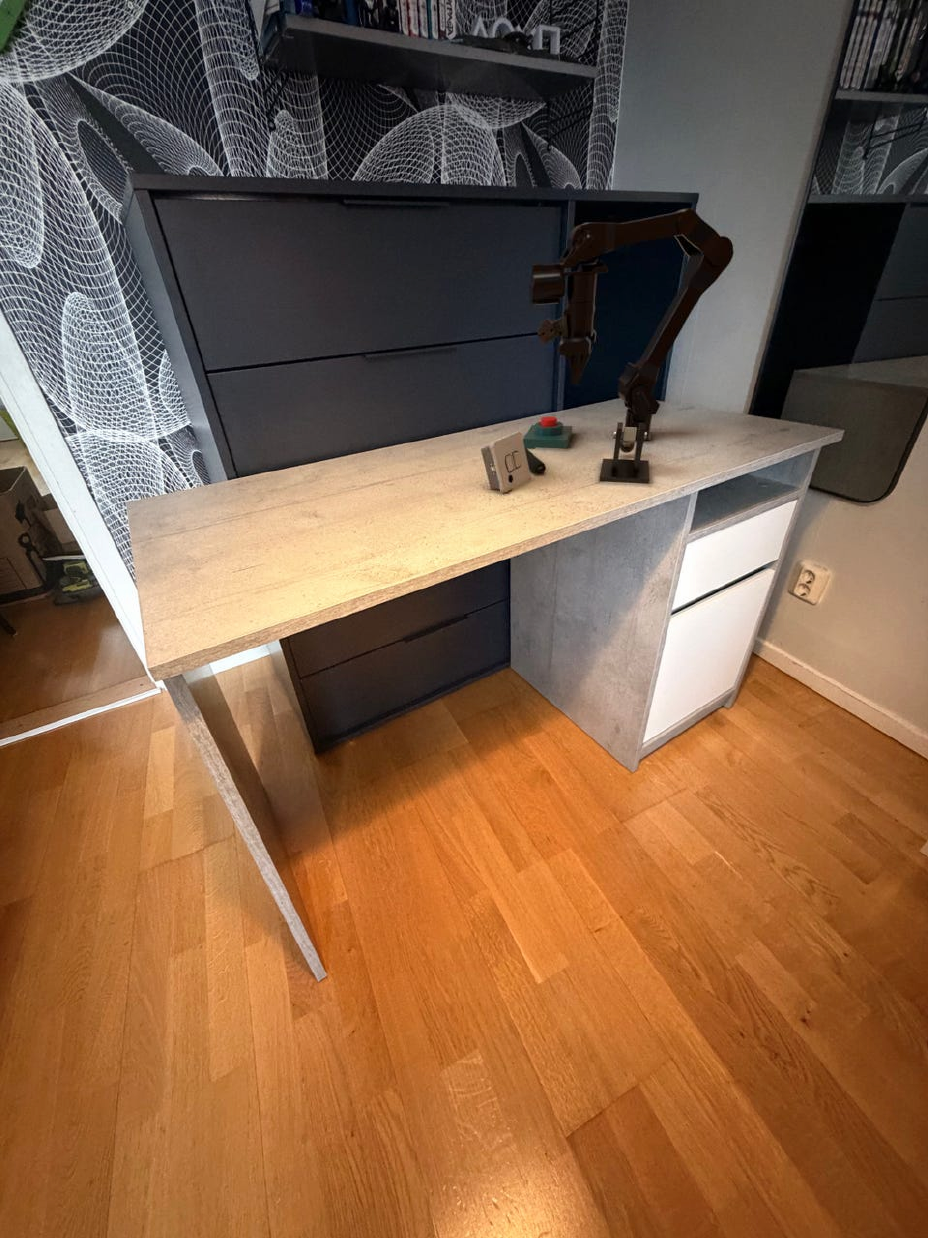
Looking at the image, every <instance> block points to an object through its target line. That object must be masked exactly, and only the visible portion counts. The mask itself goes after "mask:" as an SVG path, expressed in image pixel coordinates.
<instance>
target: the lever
mask: <svg viewBox="0 0 928 1238" xmlns="http://www.w3.org/2000/svg"><path fill="white" fill-rule="evenodd" d="M624 428H625V429H623V431H624V436H623V440H621V444H620V451H621V452H622V453H624V454H629V453H631V452H632V451H633V450H634V449H635V447H636V441H635V440H636V433H637V428H636V427H625V426H624Z"/></svg>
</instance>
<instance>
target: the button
mask: <svg viewBox="0 0 928 1238" xmlns="http://www.w3.org/2000/svg"><path fill="white" fill-rule="evenodd" d="M557 421H558V418H557V417H556V416H543V417H541V419H540V422H541V426H544V427H552V426H557Z"/></svg>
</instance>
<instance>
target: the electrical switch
mask: <svg viewBox="0 0 928 1238" xmlns="http://www.w3.org/2000/svg"><path fill="white" fill-rule="evenodd" d="M480 452H481V455H482V459H483V464H484V467H485V471H486V475H487V479H488V483H489V488H490V490H499V492H500V493H502V494H504V493H508V492H510V491H511V490H513V489H515V488H516V487H518V486H519V485H522V484H523V483H525V482H527V481H528V480H530V479H531V470H529V466H528V462H527V457H526V453H525V448H524V443H523V434H522V433H521V431H514V432H512V433H510V434H508V435H505V436H503V437H501V438H499V439H496V440H494V441H492V442H490V443H489V445H487V446H485V447H482V448H481V449H480Z"/></svg>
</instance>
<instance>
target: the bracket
mask: <svg viewBox="0 0 928 1238" xmlns="http://www.w3.org/2000/svg"><path fill="white" fill-rule="evenodd" d="M623 428H624V422H623V421H621V422H619V421H618V422H617V425H616V430H614V431H613V435H612V440H615V441H614V446H613V455H612V458H602V462H601V468H600V473H599V482H601V483H602V482H603V483H622V484H641V485H649V483H650V461H649V459H648V460H647V459H641V458H642V452H643V446H644V441H643V440H646V437H647V432H645V423H639V430H638V436H637V441H636V442H635V448H634V449H635V450H634V456H633V459H627V458H626V459H625V458H620V451H621V449H620V444H621V441H622V440H621V437H622V432H623V430H624V429H623Z"/></svg>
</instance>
